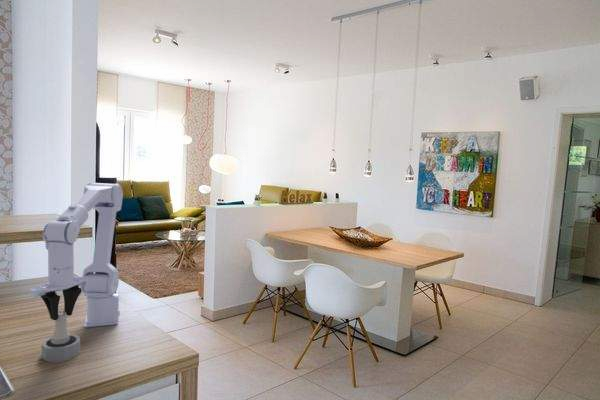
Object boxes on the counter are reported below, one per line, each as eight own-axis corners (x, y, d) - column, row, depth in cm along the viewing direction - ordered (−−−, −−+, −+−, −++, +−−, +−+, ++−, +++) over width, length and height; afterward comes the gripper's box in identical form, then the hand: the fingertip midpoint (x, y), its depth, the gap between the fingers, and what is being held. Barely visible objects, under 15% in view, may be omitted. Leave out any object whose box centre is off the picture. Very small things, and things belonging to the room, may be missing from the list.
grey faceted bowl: (81, 344, 117) (81, 332, 116) (78, 359, 109) (78, 346, 108) (45, 348, 113) (45, 336, 113) (39, 363, 105) (39, 350, 105)
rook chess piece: (60, 336, 114) (61, 308, 113) (73, 339, 112) (74, 311, 111) (46, 342, 109) (47, 313, 108) (59, 346, 108) (60, 317, 107)
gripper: (78, 258, 117) (78, 305, 118) (22, 269, 104) (23, 321, 106) (94, 263, 113) (94, 311, 115) (38, 274, 101) (39, 328, 102)
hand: (61, 316), depth 110 cm, fingers closed on rook chess piece, 3 cm apart
